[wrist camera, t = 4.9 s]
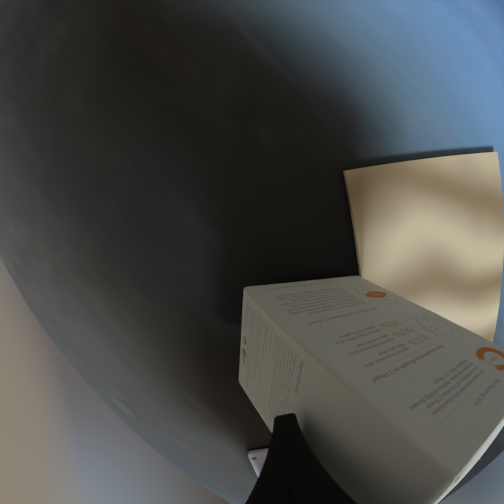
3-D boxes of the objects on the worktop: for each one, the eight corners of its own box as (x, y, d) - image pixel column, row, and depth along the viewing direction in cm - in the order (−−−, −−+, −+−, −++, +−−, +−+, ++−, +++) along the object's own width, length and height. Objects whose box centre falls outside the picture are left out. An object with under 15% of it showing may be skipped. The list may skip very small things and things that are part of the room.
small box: (236, 381, 17) (364, 559, 5) (241, 284, 15) (459, 477, 3) (341, 356, 20) (478, 462, 8) (358, 273, 18) (540, 361, 7)
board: (487, 353, 20) (489, 355, 20) (365, 406, 21) (367, 409, 21) (494, 151, 16) (497, 151, 15) (342, 170, 17) (344, 170, 16)
